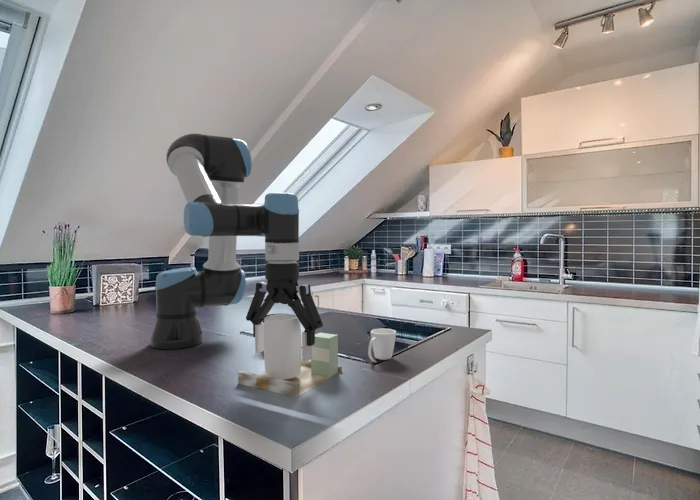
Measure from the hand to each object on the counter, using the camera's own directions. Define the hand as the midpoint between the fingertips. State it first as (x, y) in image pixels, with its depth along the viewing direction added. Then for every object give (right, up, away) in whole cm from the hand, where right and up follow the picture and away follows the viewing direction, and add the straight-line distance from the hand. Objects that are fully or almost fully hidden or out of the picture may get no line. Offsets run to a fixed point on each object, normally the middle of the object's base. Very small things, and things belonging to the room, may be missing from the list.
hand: (283, 355), depth 92 cm
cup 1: (0, -6, 0) cm, 6 cm away
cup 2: (+23, -6, +15) cm, 28 cm away
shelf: (+2, -6, +1) cm, 7 cm away
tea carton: (+9, -5, +4) cm, 11 cm away
